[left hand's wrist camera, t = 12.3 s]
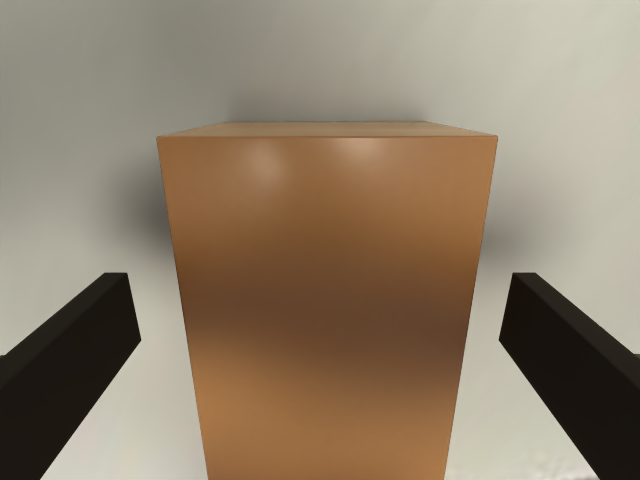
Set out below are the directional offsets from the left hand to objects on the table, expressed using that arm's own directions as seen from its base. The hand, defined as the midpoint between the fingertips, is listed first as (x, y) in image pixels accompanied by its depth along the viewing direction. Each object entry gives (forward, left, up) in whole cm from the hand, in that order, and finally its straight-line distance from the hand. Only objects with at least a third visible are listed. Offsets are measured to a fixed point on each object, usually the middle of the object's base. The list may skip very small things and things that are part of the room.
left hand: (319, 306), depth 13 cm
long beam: (+26, -5, -6) cm, 27 cm away
